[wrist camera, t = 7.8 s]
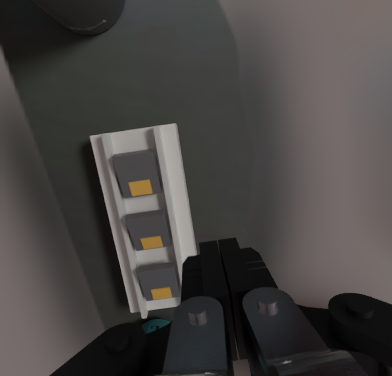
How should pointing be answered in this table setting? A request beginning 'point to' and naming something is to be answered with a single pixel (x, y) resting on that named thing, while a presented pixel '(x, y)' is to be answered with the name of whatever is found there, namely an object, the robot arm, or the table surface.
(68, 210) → the table surface
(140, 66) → the table surface
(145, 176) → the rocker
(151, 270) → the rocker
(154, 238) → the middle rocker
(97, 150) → the power strip
